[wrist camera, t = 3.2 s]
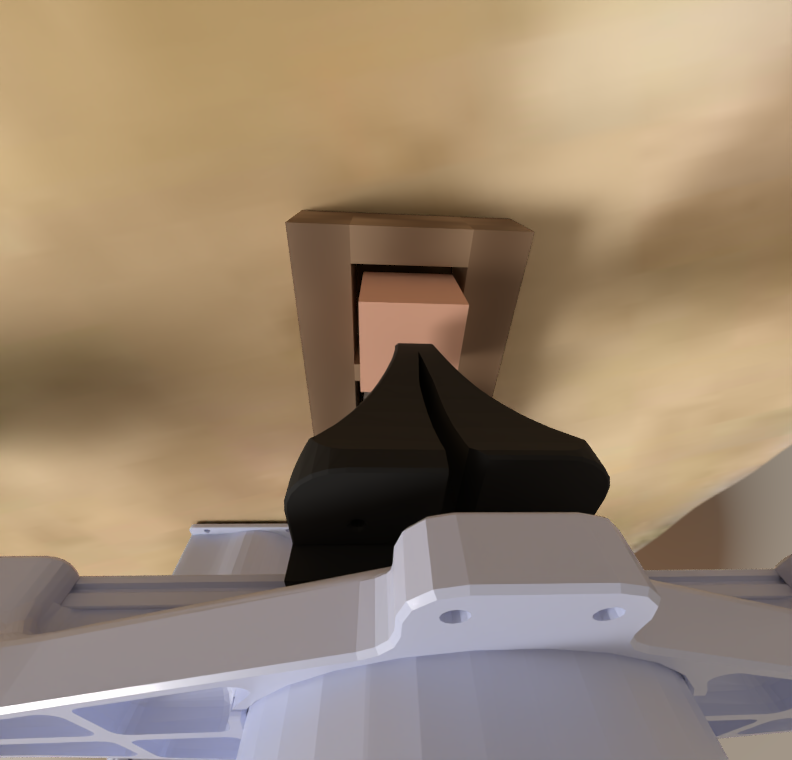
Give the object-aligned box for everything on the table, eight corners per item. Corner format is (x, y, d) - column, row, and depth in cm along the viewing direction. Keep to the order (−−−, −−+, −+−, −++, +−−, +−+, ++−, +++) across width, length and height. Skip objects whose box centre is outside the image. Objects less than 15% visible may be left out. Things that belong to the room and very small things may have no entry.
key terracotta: (364, 349, 17) (360, 392, 14) (363, 271, 15) (358, 301, 12) (441, 351, 17) (453, 393, 14) (452, 274, 15) (469, 304, 12)
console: (330, 484, 27) (325, 520, 24) (301, 210, 16) (285, 222, 13) (453, 484, 28) (460, 520, 25) (509, 218, 16) (534, 232, 14)
